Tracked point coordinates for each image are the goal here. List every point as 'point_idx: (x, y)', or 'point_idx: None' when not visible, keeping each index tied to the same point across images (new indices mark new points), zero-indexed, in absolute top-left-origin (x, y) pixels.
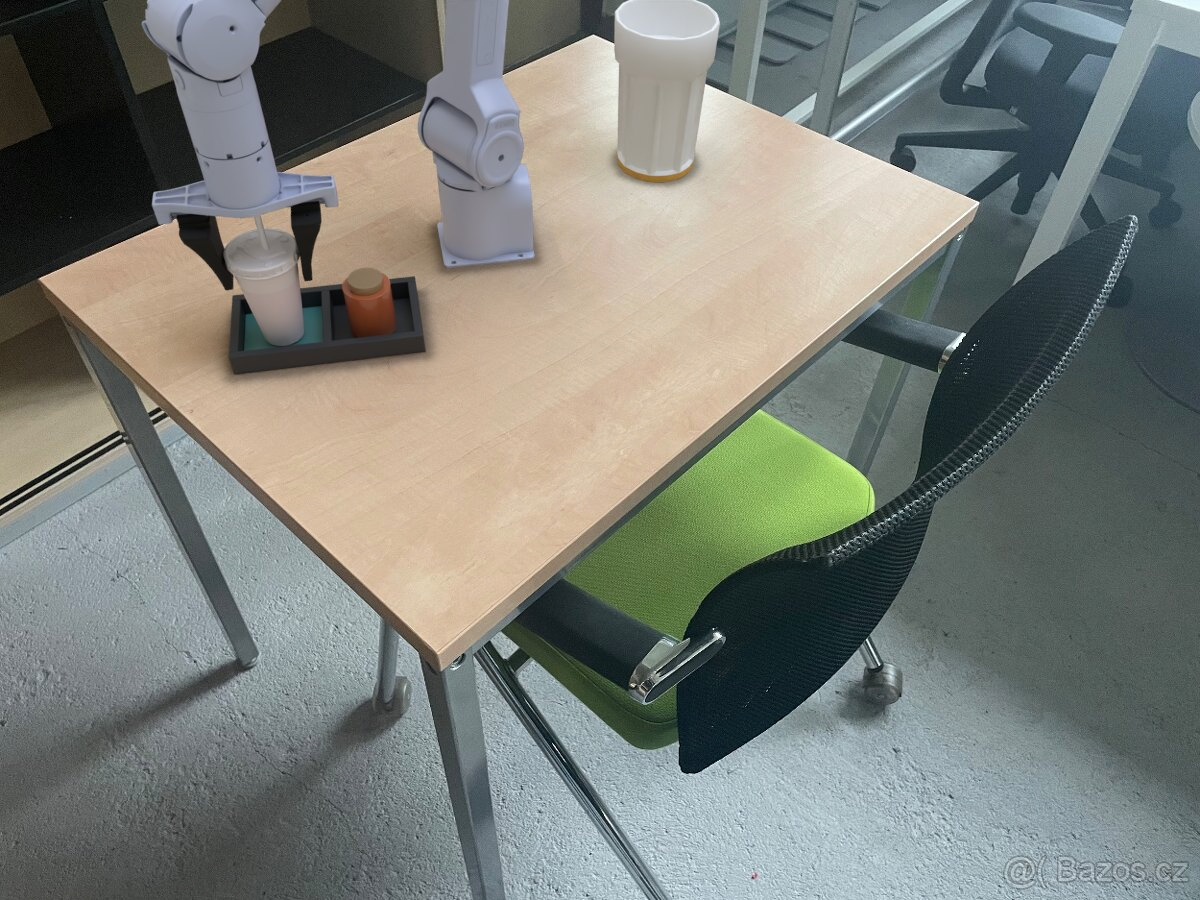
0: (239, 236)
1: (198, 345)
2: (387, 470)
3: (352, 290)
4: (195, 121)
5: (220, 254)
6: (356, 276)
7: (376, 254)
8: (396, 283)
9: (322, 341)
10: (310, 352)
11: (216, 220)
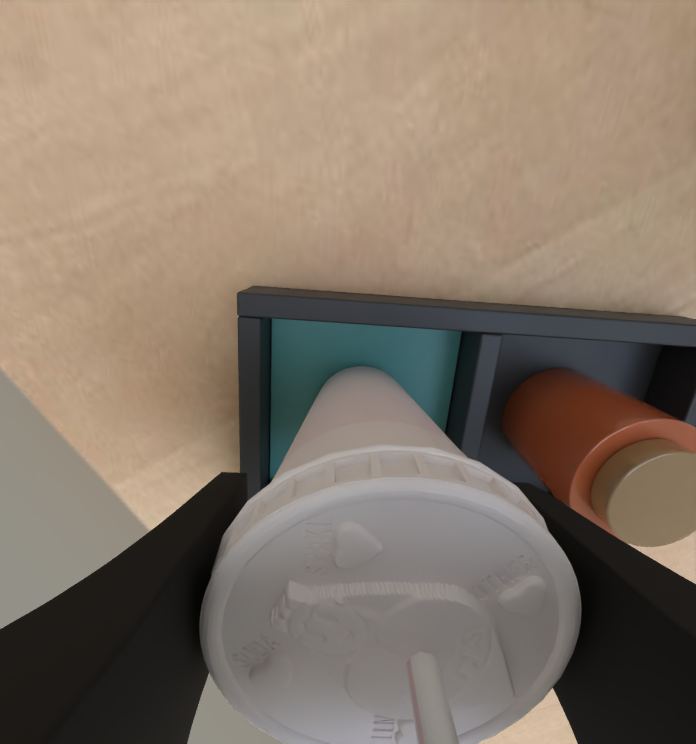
0: (281, 532)
1: (167, 376)
2: None
3: (599, 517)
4: None
5: (184, 689)
6: (642, 489)
7: (655, 90)
8: (680, 345)
9: None
10: None
11: (97, 675)
